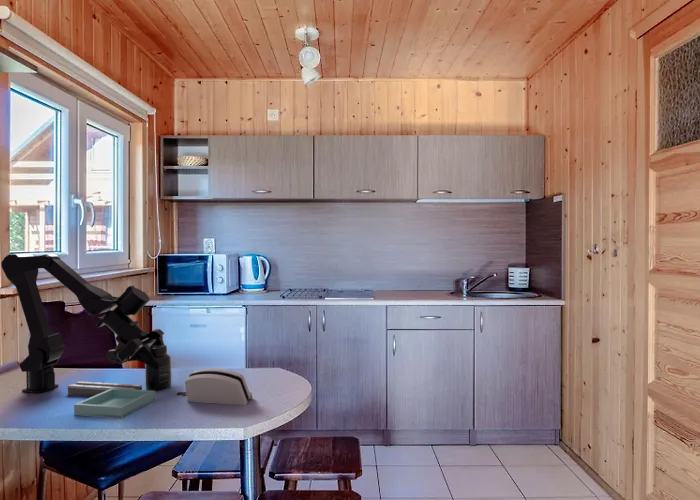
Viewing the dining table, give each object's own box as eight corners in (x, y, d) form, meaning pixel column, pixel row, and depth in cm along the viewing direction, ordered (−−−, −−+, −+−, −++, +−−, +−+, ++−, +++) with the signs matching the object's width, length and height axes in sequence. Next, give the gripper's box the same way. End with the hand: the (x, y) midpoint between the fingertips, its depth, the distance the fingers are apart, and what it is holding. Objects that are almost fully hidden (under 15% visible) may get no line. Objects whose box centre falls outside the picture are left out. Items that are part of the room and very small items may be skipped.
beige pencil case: (254, 397, 122) (247, 366, 119) (247, 410, 118) (239, 378, 114) (196, 394, 126) (188, 363, 122) (187, 406, 122) (179, 375, 118)
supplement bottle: (171, 383, 137) (170, 342, 137) (171, 390, 130) (170, 347, 130) (146, 386, 134) (145, 344, 134) (144, 393, 128) (144, 349, 128)
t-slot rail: (67, 395, 127) (67, 385, 127) (79, 390, 131) (79, 381, 131) (132, 399, 123) (132, 389, 123) (141, 394, 127) (141, 385, 127)
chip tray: (74, 414, 112) (74, 404, 112) (112, 397, 125) (112, 388, 125) (121, 418, 109) (121, 407, 109) (155, 400, 122) (155, 390, 122)
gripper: (120, 340, 142) (157, 375, 142) (85, 354, 123) (128, 395, 123) (145, 314, 141) (182, 349, 142) (114, 324, 123) (157, 365, 123)
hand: (163, 364), depth 132 cm, fingers closed on supplement bottle, 7 cm apart
